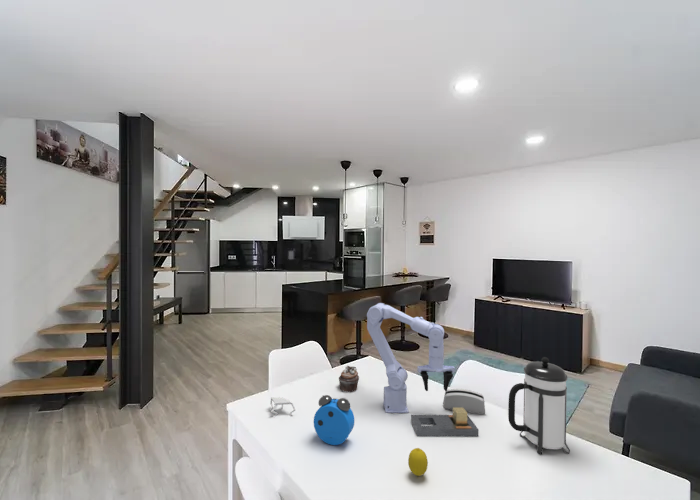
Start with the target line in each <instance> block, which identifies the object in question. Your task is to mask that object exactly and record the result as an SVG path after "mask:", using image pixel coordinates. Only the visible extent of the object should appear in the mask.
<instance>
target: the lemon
mask: <svg viewBox="0 0 700 500" xmlns="http://www.w3.org/2000/svg"><path fill="white" fill-rule="evenodd" d="M407 461H408V462H407V463H408V468H409V470H410V471H411V473H412V474H413V475H414V476H416V477H420V476H421V477H422V476H423V475H424V474H426V472H427V469H428V467H429V465H428V463H429V462H428V458H427V454H426V452H425V451H424V450H423V449H422V448H419V447H415V448H413V449H412V450H410V453H409V455H408V460H407Z"/></svg>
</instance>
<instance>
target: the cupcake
mask: <svg viewBox="0 0 700 500" xmlns="http://www.w3.org/2000/svg"><path fill="white" fill-rule="evenodd" d="M357 370H358V369H357V367H356V366H351V365H350V366H349V365H347V366H345V369H343V370H342V371H341V372H340V375H339V377H338V382H339V388H340V391H341V392H346V393H351V392H356V391H357V389H358V384H359V382H360V381H359V380H360V377H359V372H358V371H357Z"/></svg>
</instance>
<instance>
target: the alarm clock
mask: <svg viewBox="0 0 700 500" xmlns="http://www.w3.org/2000/svg"><path fill="white" fill-rule="evenodd" d="M318 405H319V407H318V409H317V410H316V411H315V414H314V417H313V427H314V431H315V432H316V435H317V436H318V437H319V439H320V440H321V441H323V442H324V443H326V444H328V445H331V446H338V445H341V444H343V443H344V442H345V441H346V440H347V438H348V437H349V435H350V434H351V433H352V431H353V429H354V427H355V415H354V412H353V410H352V408H351V402H350V401H349V400H348V399H346V398H345V397H339V398H333V397H332V396H330V395H328V394H324V395H322V396H320V398H319V400H318Z"/></svg>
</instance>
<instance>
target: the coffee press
mask: <svg viewBox="0 0 700 500" xmlns="http://www.w3.org/2000/svg"><path fill="white" fill-rule="evenodd" d="M523 372H524V379H523V380H524V381H523V382H524V383H522V382H521V383H515V384H514V385H513V386H512V387H511V388H510V390H509V392H508V393H509V394H508V409H507V410H508V412H507V415H508V421H509V425H510V427H512V428H513V429H514V430H515V431H518V432H520V433H519V437H520V438H522V439H524V438H526V439H528V441H529V442H531V443H532V444H533V445H536V446H537V448H536V452H537V454H539V455H542V456H543V451H544V449H547V450H560V449H561V450H562V451H563V452H564V454H567V455H570V452H571V449H570V447H569V446H568V444H567V403H568V402H567V397H568V396H567V394H568V393H567V390H568V388H567V382H568V381H567V380H568V375H567V373H566V372H565V370H564V369H563V368H562V367H561V366H558V365H556V364H554V363H550V359H549V358H548V357H546V356H543V357H542V358H541V360H540V361H531V362H528V363H526V365H525V367H524V368H523ZM521 390H523V424H522V425H521V424H517V423H516V419H515V418H516V396H517V393H518V392H519V391H521ZM522 433H524V435H522ZM564 446H565V447H566V449H567V450H566V449H565V448H564Z"/></svg>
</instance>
